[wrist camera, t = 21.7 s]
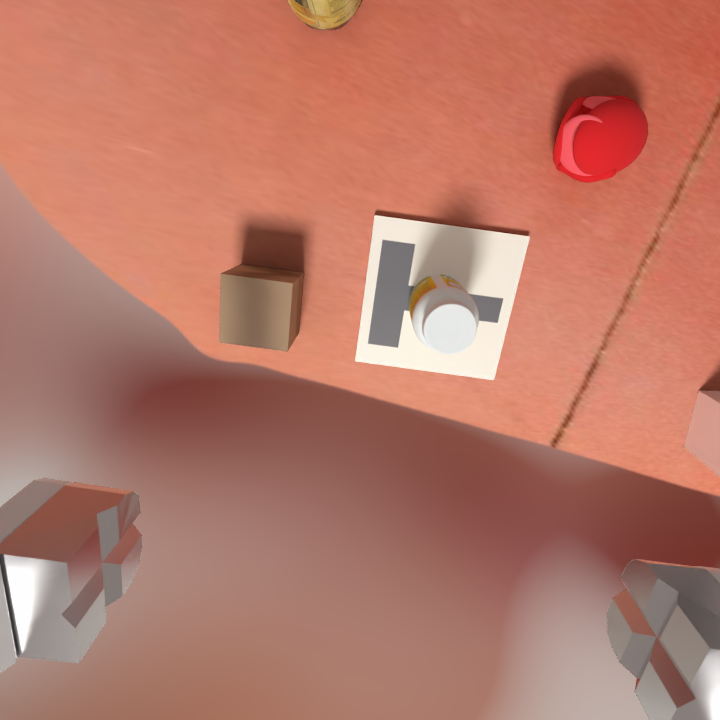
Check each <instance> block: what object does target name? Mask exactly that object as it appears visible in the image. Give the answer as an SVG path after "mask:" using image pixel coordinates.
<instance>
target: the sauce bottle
mask: <svg viewBox="0 0 720 720" xmlns="http://www.w3.org/2000/svg"><path fill="white" fill-rule="evenodd" d="M287 1H288V3H289V5H290V7H291V9H292V10H293V12H294V13H295V14H296V16H297V17H298V18H299V19H301V20H302V21H303V22H305V24H306V25H308V26H309V27H310V28H315V29H319V30H323V31H326V30H328V31H329V30H337V29H340V28H342V27H343V26H344V25H345V24H346V23H347V22H349V20H350V19H351V18H352V17H353V16H354V14H355V13H356V11H357V9H358V8H359V7H360V4H361V2H362V0H287Z"/></svg>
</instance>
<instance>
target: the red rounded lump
mask: <svg viewBox="0 0 720 720" xmlns="http://www.w3.org/2000/svg"><path fill="white" fill-rule="evenodd" d="M647 135H648V123H647V119H646V116H645V114H644V113H643V111H642V110H641V109H640V108H639V106H638V105H637V104H636V103H635V102H634V101H633V100H632V99H630V98H627V97H624V96H606V97H604V96H592V97H579V98H577V99H576V100H575V101H574V102H573V103H572V105H571V106H570V107H569V109H568V111H567V112H566V114H565V116H564V118H563V120H562V122H561V125H560V128H559V131H558V134H557V138H556V142H555V146H554V151H553V161H554V164H555V166H556V169H557V170H559V171H562V172H563V173H565V174H567V175H568V176H570V177H572V178H573V179H575V180H578V181H580V182H596V181H600V180H603V179H607V178H611V177H613V176H614V175H615V174H616V172H619V171H621V170H622V169H624V168H626V167H627V166H628V165H630V164H631V163H632V162H633V161H634V160H635V159H636V158H637V157H638V155H639V154H640V153H641V151H642V149H643V147H644V145H645V143H646V140H647Z"/></svg>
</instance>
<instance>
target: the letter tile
mask: <svg viewBox="0 0 720 720" xmlns="http://www.w3.org/2000/svg"><path fill="white" fill-rule="evenodd" d="M529 238H530V236H524V235H517V234H509V233H502V232H495V231H488V230H480V229H473V228H466V227H459V226H451V225H444V224H437V223H430V222H422V221H415V220H408V219H400V218H393V217H386V216H379V215H375V217H374V225H373V232H372V240H371V247H370V254H369V262H368V269H367V277H366V284H365V292H364V299H363V307H362V314H361V322H360V329H359V337H358V344H357V351H356V359H355V361H357V362H365V363H372V364H379V365H387V366H394V367H401V368H409V369H416V370H423V371H431V372H438V373H445V374H453V375H460V376H467V377H475V378H482V379H489V380H494V378H495V374H496V370H497V366H498V362H499V358H500V354H501V350H502V346H503V342H504V338H505V334H506V330H507V326H508V322H509V318H510V314H511V310H512V306H513V302H514V298H515V294H516V290H517V286H518V282H519V278H520V274H521V270H522V266H523V262H524V258H525V254H526V250H527V246H528V242H529ZM435 274H442V275H447V276H450V277H452V278H453V279H455V280H456V281H457V282H459V283H460V285H461V286H462V287H463V288H464V289H465V290H466V291H467V292H468V294H469V295H470V296H471V297H472V299H473V300H474V301H475V303H476V305H477V308H478V312H479V323H478V327H477V332H476V336H475V338H474V340H473V342H472V343H471V345H470V346H469V347H468V348H466V349H465V350H463V351H462V352H459V353H456V354H450V355H447V354H441V353H438V352H436V351H435V350H433V349H431V348H429V347H427V346H425V345H424V344H423V343H422V342H421V341H420V340H419V339H418V337H417V336H416V334H415V332H414V329H413V325H412V321H411V317H410V312H409V304H408V303H409V296H410V294H411V291H412V290H413V288H414V287H415V285H416V284H417V283H418V282H419V281H421V280H422V279H423V278H425V277H427V276H430V275H435Z"/></svg>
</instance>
